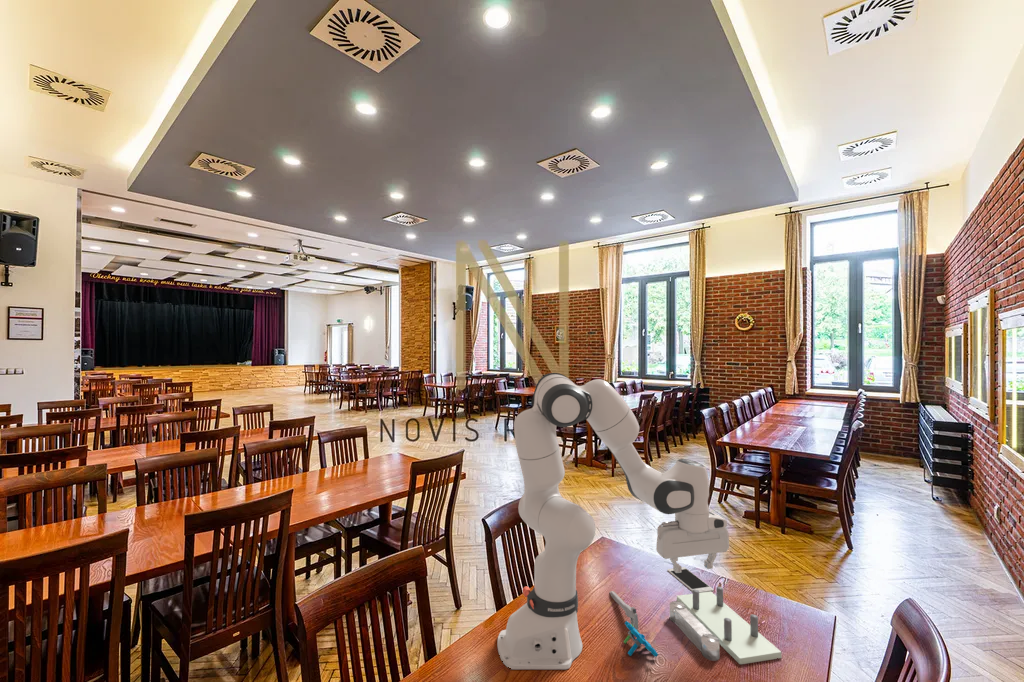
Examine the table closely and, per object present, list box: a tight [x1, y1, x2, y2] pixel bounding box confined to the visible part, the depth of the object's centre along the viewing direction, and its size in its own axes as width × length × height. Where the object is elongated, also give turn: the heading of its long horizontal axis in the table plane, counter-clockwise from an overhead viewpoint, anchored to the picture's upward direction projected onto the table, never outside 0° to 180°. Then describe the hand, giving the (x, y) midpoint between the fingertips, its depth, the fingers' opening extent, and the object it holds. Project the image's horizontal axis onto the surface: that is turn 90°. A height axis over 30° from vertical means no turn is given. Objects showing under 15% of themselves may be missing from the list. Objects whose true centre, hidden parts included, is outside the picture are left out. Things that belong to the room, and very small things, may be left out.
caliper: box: [609, 590, 639, 632], centre depth 130 cm, size 20×1×6 cm, turn 7°
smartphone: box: [667, 566, 714, 593], centre depth 147 cm, size 7×16×1 cm, turn 14°
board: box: [676, 586, 783, 665], centre depth 123 cm, size 12×28×6 cm, turn 11°
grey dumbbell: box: [669, 600, 720, 662], centre depth 119 cm, size 4×19×4 cm, turn 11°
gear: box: [623, 620, 659, 658], centre depth 112 cm, size 11×6×10 cm
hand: (693, 569), depth 119 cm, fingers open, 8 cm apart
